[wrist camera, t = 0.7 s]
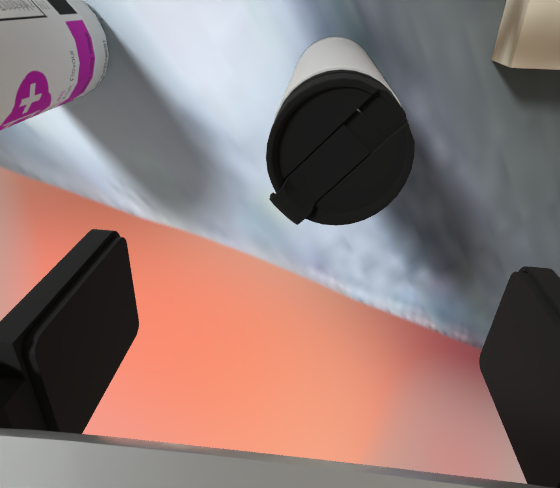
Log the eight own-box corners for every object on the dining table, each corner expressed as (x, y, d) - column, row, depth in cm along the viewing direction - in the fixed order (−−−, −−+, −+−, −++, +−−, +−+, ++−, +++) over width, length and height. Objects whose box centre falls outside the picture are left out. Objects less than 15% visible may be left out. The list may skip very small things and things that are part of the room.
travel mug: (275, 82, 35) (226, 166, 18) (335, 17, 32) (347, 42, 15) (327, 136, 37) (329, 260, 20) (389, 79, 34) (452, 164, 17)
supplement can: (132, 63, 36) (22, 103, 23) (61, 112, 38) (-74, 172, 25) (64, -39, 32) (-110, -61, 19) (-8, 21, 35) (-204, 37, 22)
